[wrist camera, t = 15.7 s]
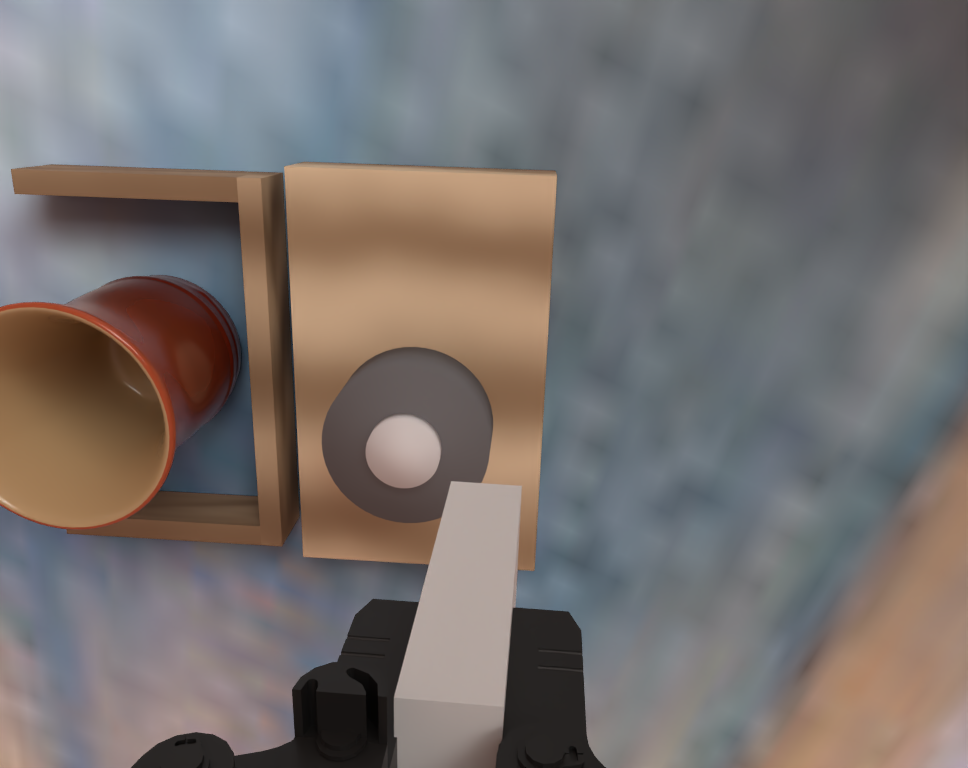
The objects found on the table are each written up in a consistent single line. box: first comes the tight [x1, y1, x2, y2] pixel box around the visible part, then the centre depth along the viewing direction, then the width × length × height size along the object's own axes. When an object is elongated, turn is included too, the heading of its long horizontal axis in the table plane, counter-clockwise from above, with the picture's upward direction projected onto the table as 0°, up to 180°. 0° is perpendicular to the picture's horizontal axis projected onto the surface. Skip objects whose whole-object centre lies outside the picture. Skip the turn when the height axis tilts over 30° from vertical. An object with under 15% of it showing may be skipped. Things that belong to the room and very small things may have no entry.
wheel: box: [322, 347, 493, 523], centre depth 30 cm, size 6×6×3 cm
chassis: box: [11, 162, 557, 571], centre depth 36 cm, size 18×22×6 cm
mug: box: [0, 275, 241, 530], centre depth 34 cm, size 12×9×10 cm
